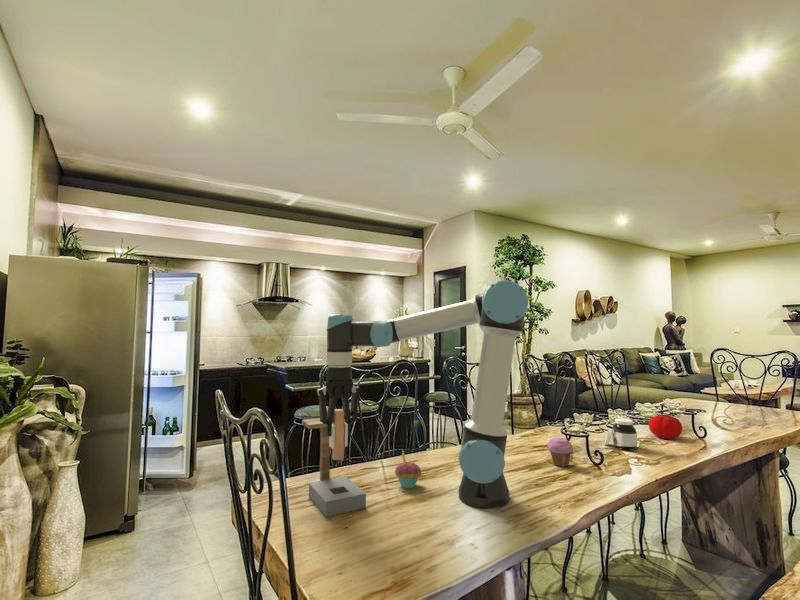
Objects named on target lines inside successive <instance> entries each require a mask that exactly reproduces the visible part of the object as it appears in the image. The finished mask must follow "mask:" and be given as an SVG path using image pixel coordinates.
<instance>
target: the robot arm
mask: <svg viewBox="0 0 800 600" xmlns="http://www.w3.org/2000/svg"><path fill="white" fill-rule="evenodd" d="M528 307H529V297H528V295H527V292H526V291H525V289H524V288H523V286H521V285H520V284H519V283H517V282H515V281H512V280H508V279H504V280H503V279H501V280H497V281H494V282H492V283H491V284H489V286H487V288H486V289H485V290H484V292H482V293H480V294H476V295H473V297H472V298H471V299H469V300H465V301H462V302H457V303H453V304H452V303H451V304H448V305H445V306H440V307H435V308H433V309H429V310H423V311H421V312H415V313H412V314H407V315H403V316H401V317H396V318H392V319H388V320H366V321H365V320H363V321H360V320H359V321H357V320H354V318H353V315H352V314H339V313H337V314H336V313H335V314H330V315H329V316H328V317H327V327H326V331H327V332H326V348H327V349H326V365H327V367H326V383H325V385H324V386H323V387H321V388H317V389H316V394H317V397H318V405H319V407H318V410H319V418H320V422H322V423H323V424H326V435H327V436H329V446H330V448H331V449H332V448H335V425H333V424H332V423H333V417H334V411H335V409H336V405H337V401H338V399H340V400H341V404H342V409H343V410H345V415H344V419H345V422H344V448H346V447H348V445H349V444H348V443H349V442H348V438H349V435H350V434H351V432H352V431H351V430H352V429H351V426H352V424H353V422H355V421H357V419H358V410H359V409H358V408H359V395H360V394H361V390H362V388H361V387H360V386H357V385H354V383H353V380H352V379H353V368H352V365H353V347H366V348H367V347H369V348H370V347H374V348H375V347H376V348H382V347H383V348H384V347H390V346H391V344H394V343H399V342H401V341H406V340H411V339H414V338H419V337H425V336H428V335H432V334H437V333H442V332H445V331H451V330H454V329H458V328H459V329H460V328H463V327H466V326H472V325H476V324H478V325H479V326H478V327H479V328H480V329H481V331H482V332H483V335H482V342H481V351H480V356H479V357H480V358H479V364H478V369H477V371H478V372H477V376H476V384H475V390H474V397H473V404H472V411H471V417H470V419H467V420H465V421H463V426H462V432H463V433H462V439H461V447H460V450H459V454H458V461H459V467H460V469H461V471H462V475H461V480H460V485H459V486H458V499H459V500H460V501H461V502H462V503H464V504H466V505H469V506H471V507H475V508H482V509H495V508H501V507H502V508H503V507H504V506H507V505H508V504H509V503H510V499H511V498H510V495H511V494H510V489H509V487H508V483H507V480H506V477H505V475H504V469H505V466H506V461H505V454H506V447H507V439H508V431H507V429H506V428H505V427H504V419H505V414H506V413H505V412H506V406H507V399H508V393H509V392H508V391H509V386H510V377H511V371H512V365H513V357H514V352H515V344H516V343H515V342H516V338H517V337H519V336H520V335H522V333H523V329H524V322H525V316H526V312H527V310H528ZM327 392H328V394H329V398H328V399H329V402H328V407H327V404H326V394H327ZM350 392H352V394H351V401H350V400H349V393H350ZM349 401H350V402H351V403H349ZM326 417H327V418H326ZM351 423H352V424H351Z"/></svg>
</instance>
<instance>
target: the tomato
mask: <svg viewBox="0 0 800 600" xmlns="http://www.w3.org/2000/svg"><path fill="white" fill-rule="evenodd" d="M648 429H649V431H650V433H652V434H653V435H654V436H656V437H658V438H662V439H664V440H665V439H666V440H672V439H673V438H674V439H676V438H678V437H679V436H680V435H681V434H682V432H683V425H682V422H681V421H680V420H679V419H678V418H676V417H675V416H672V415H667V414H665V415H664V414H659V415H658V414H656V415H655V416H653V417H651V418H649V421H648Z"/></svg>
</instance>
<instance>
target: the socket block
mask: <svg viewBox="0 0 800 600" xmlns="http://www.w3.org/2000/svg"><path fill="white" fill-rule="evenodd" d="M308 497H309V498H310V500H311V501H312V503H314V505H315V506H316V507H317V509H318V510H319V511H320V512H321V513H322V514H323V516H324V518H327V517H331V516H332V517H333V516H337V515H340V514H344V513H349V512H353V511H358V510H363V509H366V508H367V493H366V492H365V491H364V490H363V489H361V488H360V487H359V486H358V485H357V484H355V483H354V482H353V481H352V480H351V479H350V478H348V477H347V476H346V475H345V476H340V477H335V478H330V479H328V480H323V481H320V480H319V481H314V482H313V481H312V482H309V483H308Z"/></svg>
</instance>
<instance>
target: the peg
mask: <svg viewBox="0 0 800 600" xmlns="http://www.w3.org/2000/svg"><path fill="white" fill-rule="evenodd" d="M344 415H345V410H343V408H342V409H341V408H338V409H337V408H335V411H334V417H333V425H335V448H331V449H332V450H331V451H332V453H331V454H332V455H331V458H332V461H333V460H334V461H342V460H344V459H345V446H344Z"/></svg>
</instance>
